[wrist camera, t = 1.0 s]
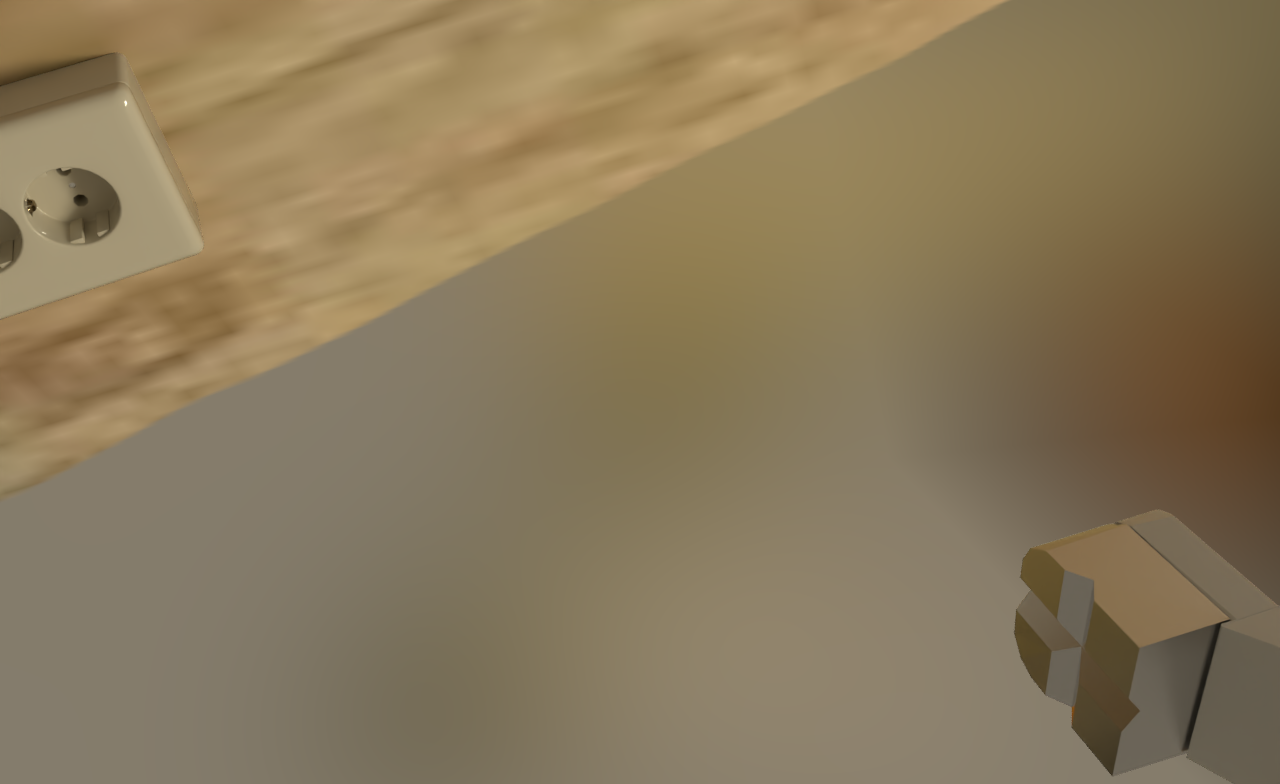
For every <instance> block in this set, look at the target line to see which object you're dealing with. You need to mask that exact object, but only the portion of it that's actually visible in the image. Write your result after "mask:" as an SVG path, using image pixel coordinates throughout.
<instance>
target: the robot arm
mask: <svg viewBox="0 0 1280 784" xmlns="http://www.w3.org/2000/svg"><path fill="white" fill-rule="evenodd" d="M1020 578H1021V579H1022V580H1023V581H1024V582H1025V584H1026V585H1027V586H1028V587H1029V588H1030V589H1031V590H1030V591H1029V593H1028V594H1027V595H1026V597H1025V598H1024V599H1023V601H1022V602H1021V604H1020V605H1019V606H1018V608H1017V609H1016V618H1015V630H1014V634H1015V638H1016V642H1017V646H1018V649H1019V653H1020V657H1021V659H1022V661H1023V663H1024V665H1025V667H1026V669H1027V671H1028V673H1029V674H1030V676H1031V678H1032V679H1033V680H1034V682H1035V683H1036V684H1037V685H1038V687H1039V688H1040V689H1041V690H1042V692H1043V693H1044V694H1045V695H1046V696H1048V697H1050V698H1053V699H1055V700H1057V701H1059V702H1062V703H1064V704H1066V705H1069V706H1071V707H1072V728H1073V730H1074V731H1075V732H1076V733H1077V735H1078V736H1079V737H1080V738H1081V739H1082V741H1083V742H1084V743H1085V744H1086V745H1087V747H1088V748H1089V749H1090V750H1091V751H1092V753H1093V754H1094V755H1095V756H1096V757H1097V759H1098V760H1099V761H1100V762H1101V763H1102V764H1103V766H1104V767H1105V768H1106V769H1107V770H1108V772H1109V773H1110V774H1111V775H1112V776H1115V775H1119V774H1122V773H1125V772H1128V771H1131V770H1134V769H1138V768H1141V767H1144V766H1147V765H1150V764H1153V763H1157V762H1160V761H1163V760H1166V759H1169V758H1173V757H1176V756H1179V755H1182V754H1185V753H1187V756H1186V758H1188V759H1190V760H1192V761H1193V762H1195V763H1197V764H1199V765H1201V766H1202V767H1204V768H1206V769H1208V770H1210V771H1212V772H1213V773H1215V774H1217V775H1219V776H1220V777H1222V778H1224V779H1226V780H1228V781H1230V782H1231V783H1233V784H1280V605H1279V606H1278V605H1277V604H1275V603H1274V602H1273V601H1272V600H1271V599H1269V598H1268V597H1267V596H1266V595H1265V594H1264V593H1262V592H1261V591H1260V590H1259V589H1258V588H1257V587H1256V586H1254V585H1253V584H1252V583H1251V582H1250V581H1249V580H1247V579H1246V578H1245V577H1244V576H1243V575H1242V574H1241V573H1239V572H1238V571H1237V570H1236V569H1235V568H1234V567H1232V566H1231V565H1230V564H1229V563H1228V562H1227V561H1225V560H1224V559H1223V558H1222V557H1221V556H1219V555H1218V554H1217V553H1216V552H1215V551H1214V550H1213V549H1211V548H1210V547H1209V546H1208V545H1207V544H1206V543H1205V542H1203V541H1202V540H1201V539H1200V538H1199V537H1198V536H1196V535H1195V534H1194V533H1193V532H1192V531H1191V530H1190V529H1188V528H1187V527H1186V526H1185V525H1184V524H1183V523H1181V522H1180V521H1179V520H1178V519H1177V518H1176V517H1174V516H1173V515H1171V514H1170V513H1167V512H1164V511H1162V510H1159V509H1157V510H1154V511H1151V512H1148V513H1145V514H1141V515H1138V516H1134V517H1131V518H1128V519H1124V520H1121V521H1118V522H1115V523H1114V524H1107V525H1104V526H1100V527H1097V528H1094V529H1091V530H1087V531H1084V532H1081V533H1078V534H1074V535H1071V536H1068V537H1065V538H1062V539H1059V540H1055V541H1052V542H1049V543H1046V544H1042V545H1039V546H1036V547H1033V548H1030V549H1029V551H1028V552H1027V554H1026V556H1025V557H1024V558H1023V562H1022V569H1021V575H1020Z"/></svg>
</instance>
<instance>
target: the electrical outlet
mask: <svg viewBox="0 0 1280 784" xmlns="http://www.w3.org/2000/svg"><path fill="white" fill-rule="evenodd" d="M203 248H204V241H203V235H202V230H201V224H200V219H199V214H198V208H197V204H196V202H195V200H194V198H193V196H192V193H191V191H190V189H189V187H188V185H187V183H186V181H185V179H184V177H183V175H182V173H181V170H180V168H179V166H178V164H177V162H176V160H175V158H174V156H173V154H172V152H171V150H170V148H169V145H168V143H167V141H166V139H165V137H164V135H163V133H162V131H161V129H160V127H159V125H158V123H157V120H156V118H155V116H154V114H153V112H152V110H151V108H150V106H149V104H148V102H147V100H146V97H145V95H144V93H143V91H142V89H141V87H140V85H139V83H138V81H137V79H136V77H135V75H134V72H133V70H132V68H131V66H130V64H129V62H128V60H127V58H126V57H125V55H123V54H122V53H118V52H117V53H112V54H108V55H105V56H101V57H98V58H95V59H91V60H88V61H84V62H81V63H78V64H74V65H71V66H67V67H64V68H61V69H57V70H54V71H50V72H47V73H44V74H40V75H37V76H34V77H30V78H27V79H23V80H20V81H17V82H13V83H10V84H6V85H3V86H0V320H1V319H4V318H7V317H10V316H13V315H16V314H19V313H22V312H25V311H28V310H31V309H34V308H37V307H40V306H43V305H46V304H49V303H53V302H56V301H59V300H62V299H65V298H68V297H71V296H74V295H77V294H80V293H83V292H86V291H89V290H92V289H95V288H98V287H101V286H104V285H107V284H110V283H113V282H116V281H119V280H122V279H125V278H128V277H131V276H134V275H137V274H140V273H143V272H146V271H149V270H152V269H155V268H158V267H161V266H164V265H167V264H170V263H173V262H176V261H179V260H182V259H185V258H188V257H191V256H194V255H197V254H199V253H200V252H201V251H202V250H203Z"/></svg>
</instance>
